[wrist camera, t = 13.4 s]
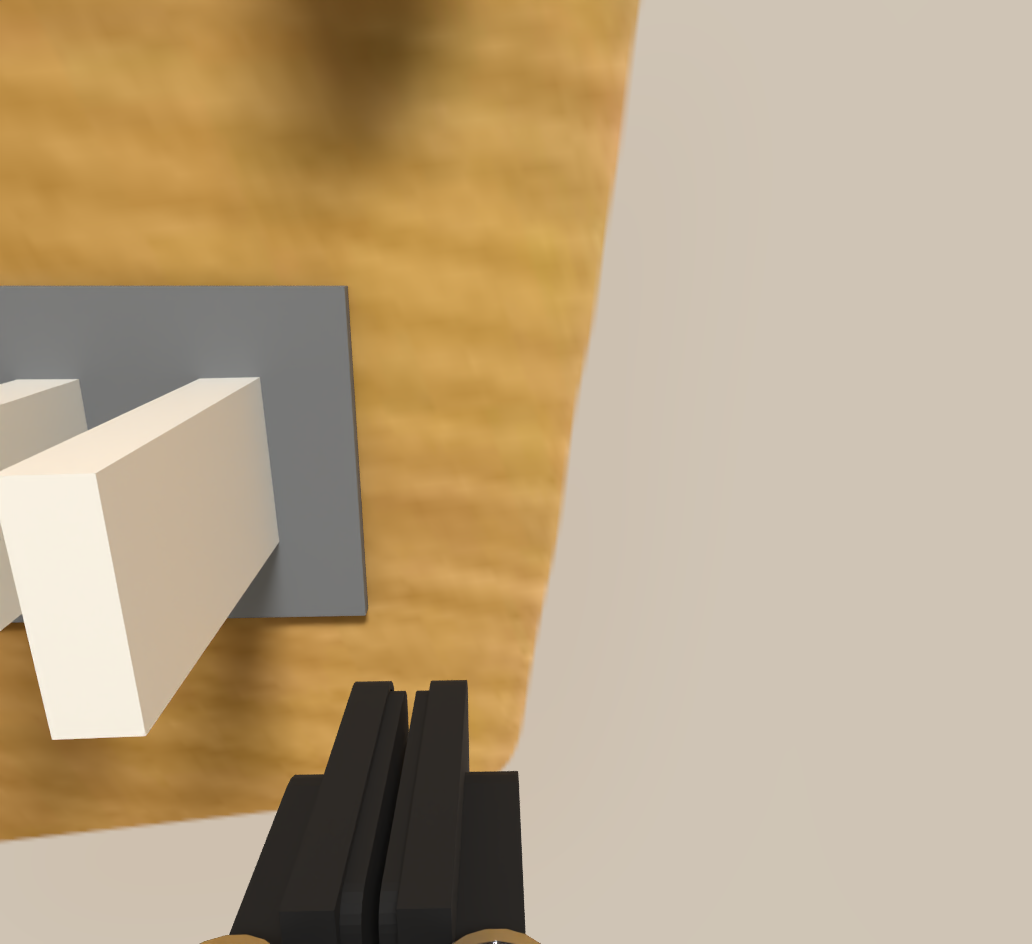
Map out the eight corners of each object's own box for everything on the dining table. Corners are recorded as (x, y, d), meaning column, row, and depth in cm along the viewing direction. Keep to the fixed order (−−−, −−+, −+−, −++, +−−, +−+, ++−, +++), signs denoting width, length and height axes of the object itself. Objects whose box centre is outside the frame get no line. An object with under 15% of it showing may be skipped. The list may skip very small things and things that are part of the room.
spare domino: (223, 543, 26) (52, 739, 16) (199, 378, 25) (-11, 476, 14) (279, 541, 26) (145, 735, 16) (259, 377, 25) (95, 473, 14)
